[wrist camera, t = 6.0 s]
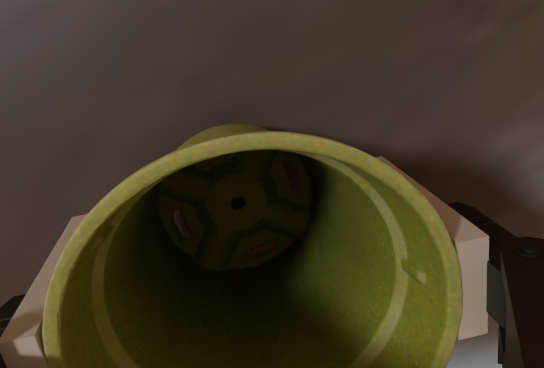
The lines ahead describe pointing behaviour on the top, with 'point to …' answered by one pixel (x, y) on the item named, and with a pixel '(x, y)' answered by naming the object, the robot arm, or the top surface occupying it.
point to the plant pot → (257, 264)
